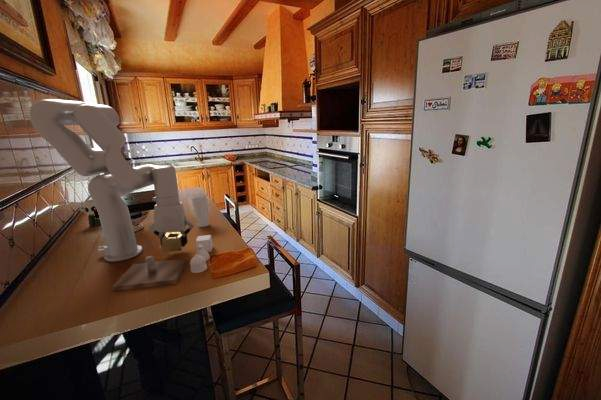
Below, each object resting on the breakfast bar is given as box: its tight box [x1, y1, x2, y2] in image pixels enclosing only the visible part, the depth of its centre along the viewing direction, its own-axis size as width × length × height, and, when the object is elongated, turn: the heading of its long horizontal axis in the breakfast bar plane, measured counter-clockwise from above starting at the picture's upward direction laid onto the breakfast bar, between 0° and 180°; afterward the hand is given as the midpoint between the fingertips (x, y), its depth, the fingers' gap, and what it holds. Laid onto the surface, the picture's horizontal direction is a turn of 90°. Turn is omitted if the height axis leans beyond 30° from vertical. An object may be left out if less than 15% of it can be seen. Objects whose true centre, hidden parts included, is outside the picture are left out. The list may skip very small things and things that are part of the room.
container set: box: [189, 234, 213, 274], centre depth 101 cm, size 20×5×6 cm, turn 10°
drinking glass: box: [191, 193, 210, 228], centre depth 134 cm, size 7×7×15 cm
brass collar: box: [161, 231, 185, 253], centre depth 106 cm, size 6×6×5 cm
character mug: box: [78, 199, 101, 227], centre depth 146 cm, size 11×7×13 cm, turn 107°
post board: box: [111, 255, 188, 292], centre depth 91 cm, size 18×14×6 cm
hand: (174, 245), depth 106 cm, fingers closed on brass collar, 6 cm apart
